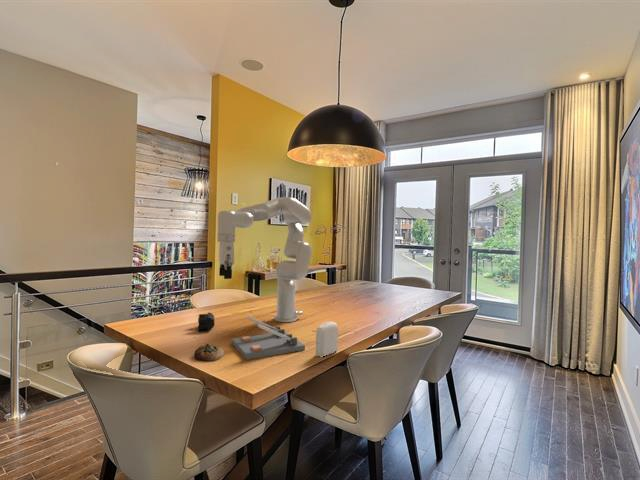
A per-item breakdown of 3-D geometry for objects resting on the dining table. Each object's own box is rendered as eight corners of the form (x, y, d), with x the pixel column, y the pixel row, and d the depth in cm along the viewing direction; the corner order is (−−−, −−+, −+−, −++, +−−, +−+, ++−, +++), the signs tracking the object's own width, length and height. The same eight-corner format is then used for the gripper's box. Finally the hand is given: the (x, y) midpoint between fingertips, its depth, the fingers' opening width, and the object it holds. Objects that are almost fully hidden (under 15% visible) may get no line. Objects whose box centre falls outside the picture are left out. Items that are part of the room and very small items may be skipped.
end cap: (214, 331, 155) (214, 317, 155) (198, 332, 153) (198, 317, 153) (214, 325, 165) (214, 311, 165) (198, 326, 163) (199, 312, 162)
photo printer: (322, 358, 126) (323, 326, 126) (313, 355, 129) (314, 323, 129) (338, 351, 134) (339, 321, 134) (330, 349, 137) (331, 318, 137)
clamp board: (284, 335, 152) (284, 324, 152) (304, 350, 135) (305, 337, 135) (231, 343, 140) (231, 331, 140) (246, 360, 123) (247, 346, 122)
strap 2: (290, 341, 138) (292, 337, 138) (293, 343, 135) (295, 339, 135) (256, 326, 130) (258, 322, 130) (259, 328, 127) (261, 324, 128)
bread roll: (187, 356, 124) (189, 343, 124) (211, 352, 133) (213, 339, 134) (206, 365, 118) (208, 351, 118) (230, 360, 127) (232, 346, 127)
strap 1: (279, 333, 148) (280, 329, 148) (281, 335, 145) (283, 331, 146) (246, 318, 140) (248, 315, 140) (249, 320, 138) (251, 317, 138)
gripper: (239, 239, 143) (238, 279, 143) (230, 238, 158) (229, 274, 159) (221, 239, 139) (220, 280, 140) (213, 237, 155) (213, 274, 155)
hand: (225, 277), depth 149 cm, fingers open, 9 cm apart
